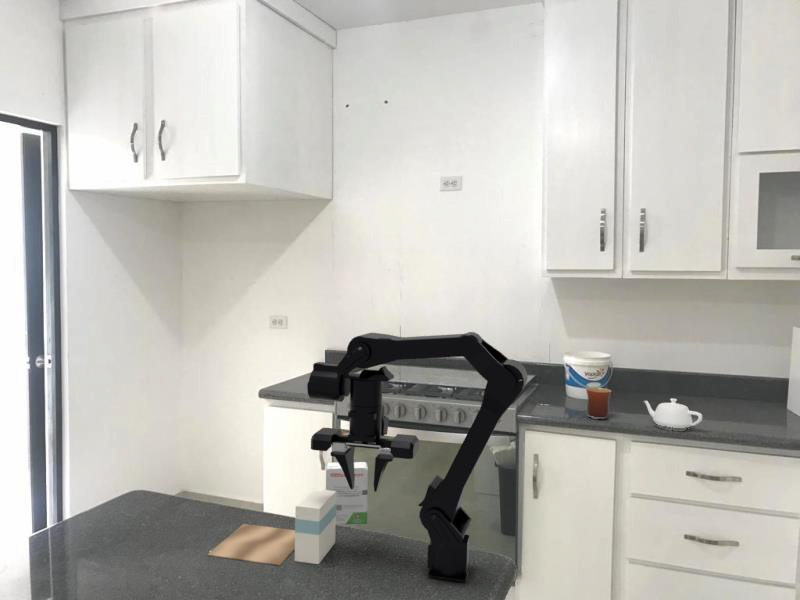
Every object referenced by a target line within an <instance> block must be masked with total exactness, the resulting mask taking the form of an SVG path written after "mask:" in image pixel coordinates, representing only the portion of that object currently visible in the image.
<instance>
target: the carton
mask: <svg viewBox="0 0 800 600" xmlns="http://www.w3.org/2000/svg"><path fill="white" fill-rule="evenodd" d="M294 514H295V517H294V530H295V549H294V562H300V563H306V564H315V565H320V563H321V562H322V561H323V560H324V558H325V557H326V556H327V554H328V553H329V551H330V550H331V549H332V548H333V546H334V545H335V544H336V526H337V525H336V491H330V490H326V489H320V488H313V489H312V490H311V491H310V492H309V493H308V494H307V495H306V496H305V497H304V498H302V499H301V501H299V502H298V503H297V504H296V505H295V513H294Z"/></svg>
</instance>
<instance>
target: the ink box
mask: <svg viewBox="0 0 800 600" xmlns="http://www.w3.org/2000/svg"><path fill="white" fill-rule="evenodd" d="M368 472H369V468H368V463H367V462H366V461H354V474H355V482H354V488H353V489H350V487H349V484H348V482H347V480H346V477H345V475H344V472H343V470H342V468H341V466H340V465H339V463H338V461H337V462H326V465H325V490H330V491H336V526H338V525H363V524H364V525H365V524H368V484H369V483H368V478H369V477H368V475H369V473H368Z"/></svg>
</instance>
